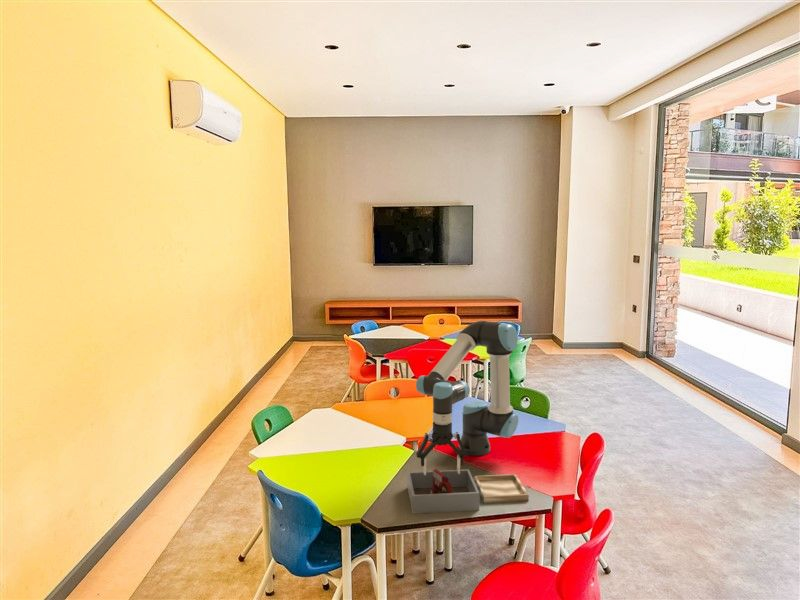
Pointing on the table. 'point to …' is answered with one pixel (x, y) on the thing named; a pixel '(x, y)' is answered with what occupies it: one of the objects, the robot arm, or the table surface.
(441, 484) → the toy fire truck
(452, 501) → the bin
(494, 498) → the tray
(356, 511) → the table surface
